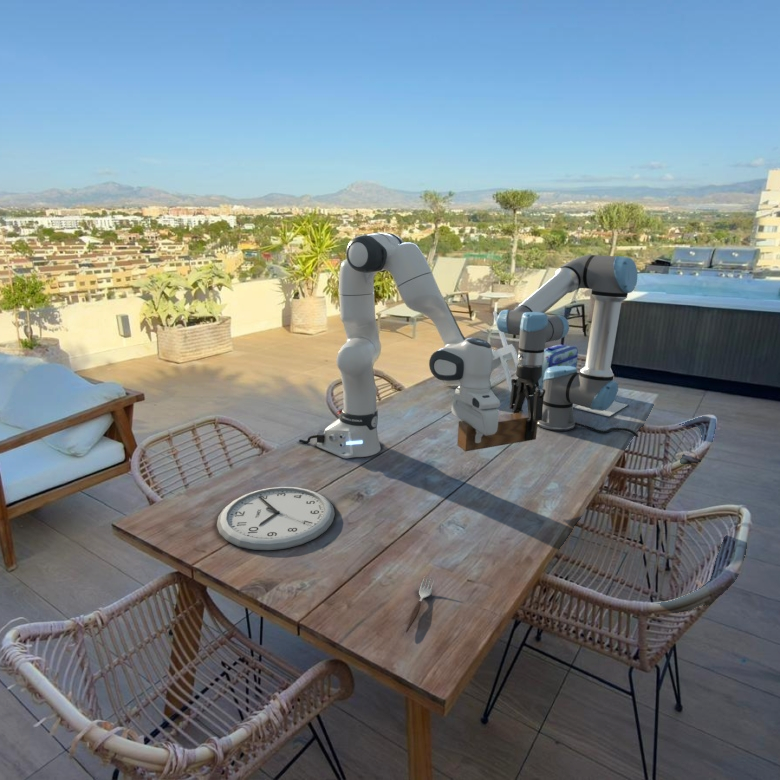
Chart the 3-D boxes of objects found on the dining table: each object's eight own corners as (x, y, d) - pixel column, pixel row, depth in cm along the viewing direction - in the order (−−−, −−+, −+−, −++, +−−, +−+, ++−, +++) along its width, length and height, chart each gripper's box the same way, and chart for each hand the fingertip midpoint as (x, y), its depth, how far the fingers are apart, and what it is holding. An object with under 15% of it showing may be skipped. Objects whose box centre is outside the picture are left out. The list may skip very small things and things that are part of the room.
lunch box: (550, 397, 237) (555, 352, 231) (529, 391, 245) (533, 348, 238) (577, 386, 255) (582, 344, 249) (556, 381, 262) (561, 340, 256)
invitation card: (608, 416, 214) (573, 407, 224) (608, 416, 214) (573, 408, 224) (628, 404, 229) (594, 396, 238) (628, 405, 229) (594, 397, 238)
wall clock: (333, 542, 123) (202, 546, 121) (333, 547, 124) (203, 552, 121) (335, 482, 152) (229, 485, 149) (335, 487, 152) (230, 490, 150)
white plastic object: (461, 429, 252) (437, 405, 227) (444, 352, 274) (420, 323, 250) (535, 404, 240) (518, 377, 215) (510, 326, 262) (492, 293, 237)
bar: (526, 434, 167) (528, 411, 165) (535, 439, 163) (538, 416, 161) (457, 445, 158) (458, 421, 155) (465, 451, 154) (467, 426, 151)
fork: (399, 632, 98) (399, 624, 98) (423, 581, 112) (424, 573, 112) (412, 636, 97) (413, 627, 97) (435, 584, 112) (435, 576, 111)
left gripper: (447, 385, 160) (445, 427, 164) (484, 406, 142) (480, 452, 146) (465, 383, 162) (462, 425, 166) (503, 403, 144) (499, 449, 148)
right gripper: (501, 358, 163) (495, 427, 170) (539, 373, 147) (531, 449, 154) (521, 356, 166) (514, 424, 173) (560, 371, 150) (552, 445, 157)
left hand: (471, 438), depth 156 cm, fingers closed on bar, 5 cm apart
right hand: (522, 436), depth 164 cm, fingers open, 6 cm apart
